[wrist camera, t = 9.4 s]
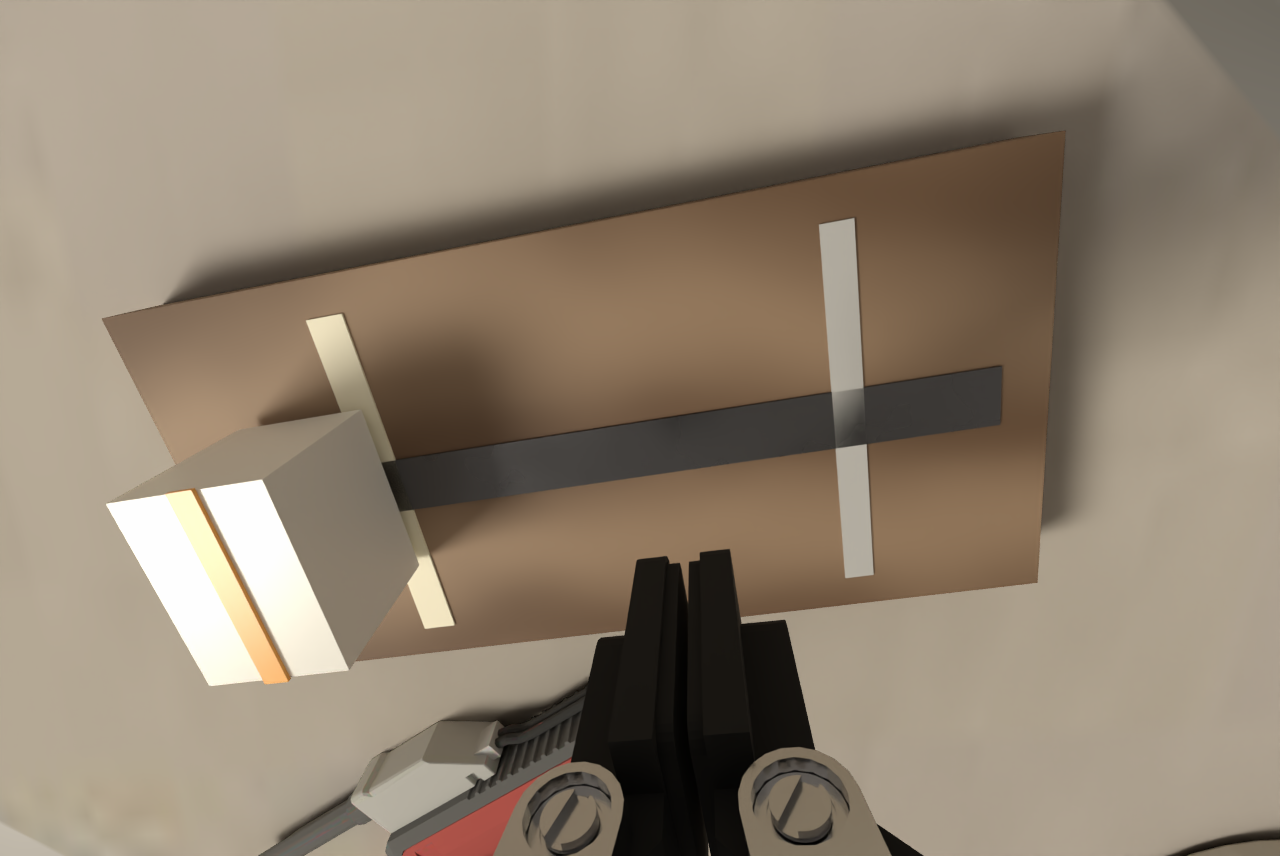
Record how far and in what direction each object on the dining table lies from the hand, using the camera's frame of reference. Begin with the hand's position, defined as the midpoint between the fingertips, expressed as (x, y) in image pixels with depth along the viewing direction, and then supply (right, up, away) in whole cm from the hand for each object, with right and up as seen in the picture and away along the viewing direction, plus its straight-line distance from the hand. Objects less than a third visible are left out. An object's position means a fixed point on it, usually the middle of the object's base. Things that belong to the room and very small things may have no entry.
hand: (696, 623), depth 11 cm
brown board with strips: (-2, +3, +8) cm, 9 cm away
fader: (-10, +1, +7) cm, 12 cm away
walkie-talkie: (-8, -12, +15) cm, 20 cm away
